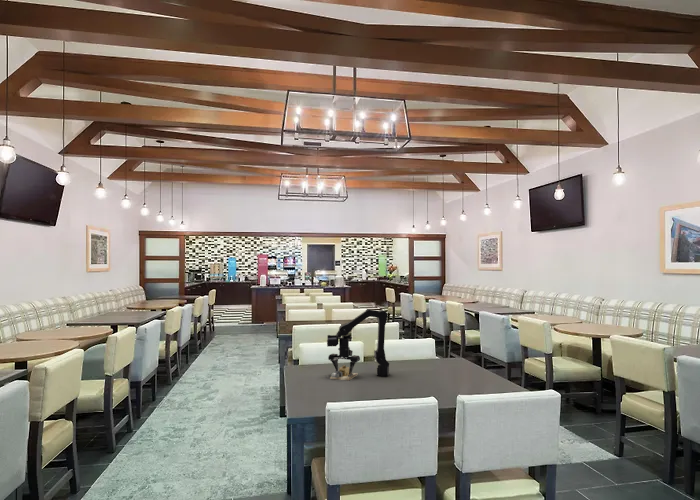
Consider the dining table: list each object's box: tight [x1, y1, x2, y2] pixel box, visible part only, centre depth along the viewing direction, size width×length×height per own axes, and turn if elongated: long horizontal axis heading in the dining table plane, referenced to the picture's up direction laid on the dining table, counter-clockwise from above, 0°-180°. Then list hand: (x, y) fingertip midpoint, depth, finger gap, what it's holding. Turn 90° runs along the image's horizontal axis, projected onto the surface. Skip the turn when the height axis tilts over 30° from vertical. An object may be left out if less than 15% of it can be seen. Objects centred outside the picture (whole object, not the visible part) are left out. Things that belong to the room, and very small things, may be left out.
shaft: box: [330, 369, 342, 378], centre depth 255 cm, size 6×5×3 cm
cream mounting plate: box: [329, 366, 358, 381], centre depth 260 cm, size 12×16×4 cm
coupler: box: [338, 364, 350, 376], centre depth 259 cm, size 4×4×6 cm
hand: (344, 372), depth 259 cm, fingers open, 9 cm apart
